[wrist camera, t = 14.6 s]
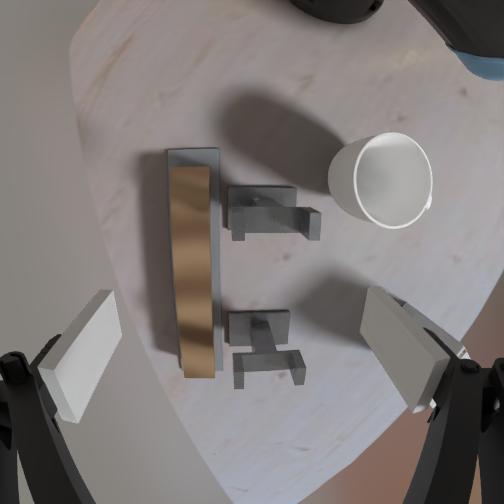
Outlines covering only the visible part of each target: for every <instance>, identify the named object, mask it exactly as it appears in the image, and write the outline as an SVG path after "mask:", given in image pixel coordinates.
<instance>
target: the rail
mask: <svg viewBox="0 0 504 504" xmlns="http://www.w3.org/2000/svg"><path fill="white" fill-rule="evenodd" d="M170 201H171V232H172V252H173V269H174V283H175V296H176V307H177V318H178V328H179V337H180V346H181V354H182V362H183V370H184V377H185V378H215V346H214V325H213V300H212V266H211V166H206V167H170Z"/></svg>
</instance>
